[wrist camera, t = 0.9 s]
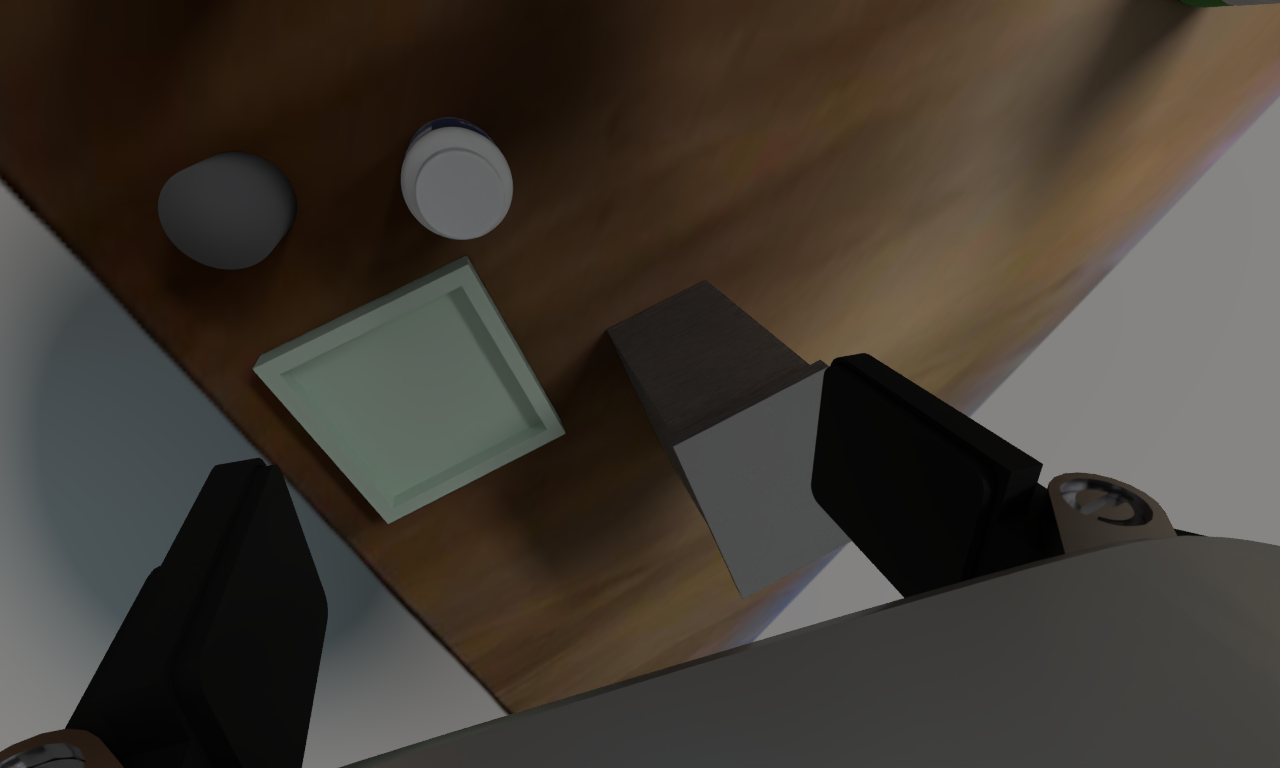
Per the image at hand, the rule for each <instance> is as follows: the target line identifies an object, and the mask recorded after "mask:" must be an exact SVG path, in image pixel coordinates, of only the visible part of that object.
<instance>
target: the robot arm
mask: <svg viewBox="0 0 1280 768" xmlns="http://www.w3.org/2000/svg"><path fill="white" fill-rule="evenodd" d="M1042 466H1043V464H1042V463H1040V462H1039V461H1037V460H1036V459H1034V458H1033V457H1031V456H1029V455H1028V454H1026V453H1025V452H1023V451H1021V450H1020V449H1018V448H1017V447H1015V446H1013V445H1012V444H1010V443H1009V442H1007V441H1006V440H1004V439H1002V438H1001V437H999V436H998V435H996V434H994V433H993V432H991V431H990V430H988V429H986V428H985V427H983V426H982V425H980V424H978V423H977V422H975V421H974V420H972V419H971V418H969V417H967V416H966V415H964V414H963V413H961V412H959V411H958V410H956V409H955V408H953V407H952V406H950V405H948V404H947V403H945V402H944V401H942V400H940V399H939V398H937V397H936V396H934V395H932V394H931V393H929V392H928V391H926V390H924V389H923V388H921V387H920V386H918V385H917V384H915V383H913V382H912V381H910V380H909V379H907V378H905V377H904V376H902V375H901V374H899V373H897V372H896V371H894V370H893V369H891V368H890V367H888V366H886V365H885V364H883V363H882V362H880V361H878V360H877V359H875V358H874V357H872V356H870V355H869V354H866V353H861V354H855V355H850V356H844V357H838V358H836V359H834V360H833V361H832V363H831V365H830V367H828V368H826V370H825V372H824V376H823V384H822V392H821V401H820V409H819V418H818V426H817V435H816V444H815V452H814V461H813V469H812V478H811V490H812V494H813V497H814V499H815V501H816V502H817V503H818V504H819V505H820V507H821V508H822V509H823V510H824V511H825V512H826V513H827V514H828V515H829V516H830V517H831V519H832V520H833V521H834V522H835V523H836V524H837V525H838V526H839V527H840V528H841V529H842V530H843V532H844V533H845V534H846V535H847V536H848V537H849V538H850V539H851V540H852V541H853V542H854V544H855V545H856V546H857V547H858V548H859V549H860V550H861V551H862V552H863V553H864V554H865V555H866V557H867V558H868V559H869V560H870V561H871V562H872V563H873V564H874V565H875V566H876V567H877V569H878V570H879V571H880V572H881V573H882V574H883V575H884V576H885V577H886V578H887V579H888V581H889V582H890V583H891V584H892V585H893V586H894V587H895V588H896V589H897V590H898V591H899V593H900V594H901V595H902V596H903V597H904V599H900V600H897V601H893V602H890V603H886V604H883V605H880V606H876V607H872V608H869V609H865V610H862V611H859V612H855V613H852V614H848V615H845V616H841V617H838V618H834V619H831V620H827V621H824V622H821V623H818V624H814V625H811V626H807V627H803V628H800V629H797V630H793V631H790V632H786V633H783V634H780V635H776V636H773V637H769V638H766V639H763V640H759V641H756V642H752V643H749V644H746V645H742V646H739V647H735V648H732V649H729V650H725V651H722V652H718V653H715V654H712V655H708V656H705V657H702V658H698V659H695V660H691V661H688V662H685V663H681V664H678V665H674V666H671V667H668V668H664V669H661V670H658V671H654V672H651V673H647V674H644V675H641V676H637V677H634V678H631V679H627V680H624V681H621V682H617V683H614V684H611V685H607V686H604V687H601V688H597V689H594V690H591V691H587V692H584V693H581V694H577V695H574V696H571V697H567V698H564V699H561V700H557V701H554V702H551V703H547V704H544V705H541V706H537V707H534V708H531V709H528V710H524V711H521V712H518V713H514V714H511V715H508V716H504V717H501V718H498V719H494V720H491V721H488V722H484V723H481V724H478V725H474V726H471V727H468V728H464V729H461V730H458V731H454V732H451V733H448V734H445V735H441V736H438V737H435V738H432V739H429V740H425V741H422V742H419V743H416V744H413V745H409V746H406V747H403V748H400V749H397V750H394V751H391V752H387V753H384V754H381V755H378V756H374V757H371V758H368V759H365V760H362V761H358V762H355V763H352V764H349V765H346V766H343V767H340V768H1280V546H1277V545H1272V544H1266V543H1260V542H1255V541H1249V540H1242V539H1234V538H1224V537H1223V538H1222V537H1208V536H1204V535H1199V534H1195V533H1191V532H1186V531H1182V530H1177V529H1174V528H1173V527H1172V524H1171V523H1170V521H1169V519H1168V517H1167V515H1166V513H1165V511H1164V510H1163V509H1162V507H1161V506H1160V505H1159V503H1158V502H1156V501H1155V500H1154V499H1153V498H1151V497H1150V496H1149V495H1147V494H1146V493H1144V492H1142V491H1140V490H1139V489H1137V488H1135V487H1133V486H1131V485H1129V484H1126V483H1124V482H1121V481H1118V480H1115V479H1112V478H1109V477H1104V476H1100V475H1096V474H1088V473H1065V474H1062V475H1059V476H1056V477H1054V478H1053V479H1052V480H1051V481H1050V483H1049V485H1048V488H1047V489H1046V488H1045V487H1043V486H1042V485H1040V484H1039V483H1037V481H1038V478H1039V475H1040V472H1041V469H1042ZM327 619H328V607H327V600H326V596H325V592H324V590H323V587H322V584H321V581H320V579H319V576H318V573H317V570H316V567H315V564H314V562H313V559H312V556H311V553H310V550H309V547H308V544H307V542H306V539H305V536H304V534H303V531H302V528H301V525H300V522H299V519H298V516H297V514H296V511H295V508H294V505H293V502H292V499H291V497H290V494H289V491H288V488H287V485H286V482H285V480H284V477H283V474H282V472H281V469H280V468H279V466H278V465H276V464H275V465H270V466H266V464H265V463H264V461H263V460H262V459H260V458H255V459H249V460H244V461H237V462H231V463H226V464H220V465H216V466H214V468H213V469H212V471H211V472H210V474H209V476H208V478H207V480H206V482H205V484H204V486H203V487H202V489H201V491H200V493H199V495H198V497H197V499H196V501H195V503H194V504H193V506H192V508H191V510H190V512H189V514H188V516H187V518H186V519H185V521H184V523H183V525H182V527H181V529H180V531H179V533H178V534H177V536H176V539H175V540H174V542H173V544H172V546H171V548H170V550H169V551H168V553H167V555H166V557H165V559H164V562H163V563H162V565H161V566H159V567H157V568H155V569H154V570H153V571H152V572H151V574H150V575H149V576H148V578H147V579H146V581H145V583H144V585H143V587H142V588H141V590H140V592H139V594H138V596H137V597H136V600H135V601H134V603H133V605H132V607H131V608H130V610H129V612H128V614H127V616H126V618H125V620H124V621H123V623H122V625H121V627H120V629H119V630H118V632H117V634H116V636H115V638H114V640H113V641H112V643H111V645H110V647H109V649H108V651H107V653H106V654H105V656H104V658H103V660H102V662H101V663H100V665H99V667H98V669H97V671H96V673H95V675H94V676H93V678H92V680H91V682H90V684H89V685H88V688H87V689H86V691H85V693H84V695H83V696H82V698H81V700H80V702H79V704H78V706H77V707H76V710H75V711H74V713H73V715H72V717H71V719H70V720H69V723H68V724H67V726H66V728H65V729H63V730H58V731H53V732H48V733H42V734H39V735H37V736H35V737H32V738H29V739H27V740H24V741H21V742H19V743H16V744H14V745H12V746H10V747H8V748H6V749H4V750H3V751H1V752H0V768H302V763H303V758H304V751H305V746H306V740H307V735H308V729H309V723H310V717H311V711H312V706H313V700H314V694H315V689H316V683H317V677H318V671H319V665H320V659H321V654H322V648H323V642H324V637H325V631H326V624H327Z"/></svg>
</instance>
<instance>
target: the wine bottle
mask: <svg viewBox="0 0 1280 768" xmlns="http://www.w3.org/2000/svg"><path fill="white" fill-rule="evenodd" d="M1180 1H1181V2H1183V3H1184V4H1186V5H1189V6H1197V7H1217V6H1233V5H1237V6H1241V5H1257V4H1274V3H1280V0H1180Z"/></svg>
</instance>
